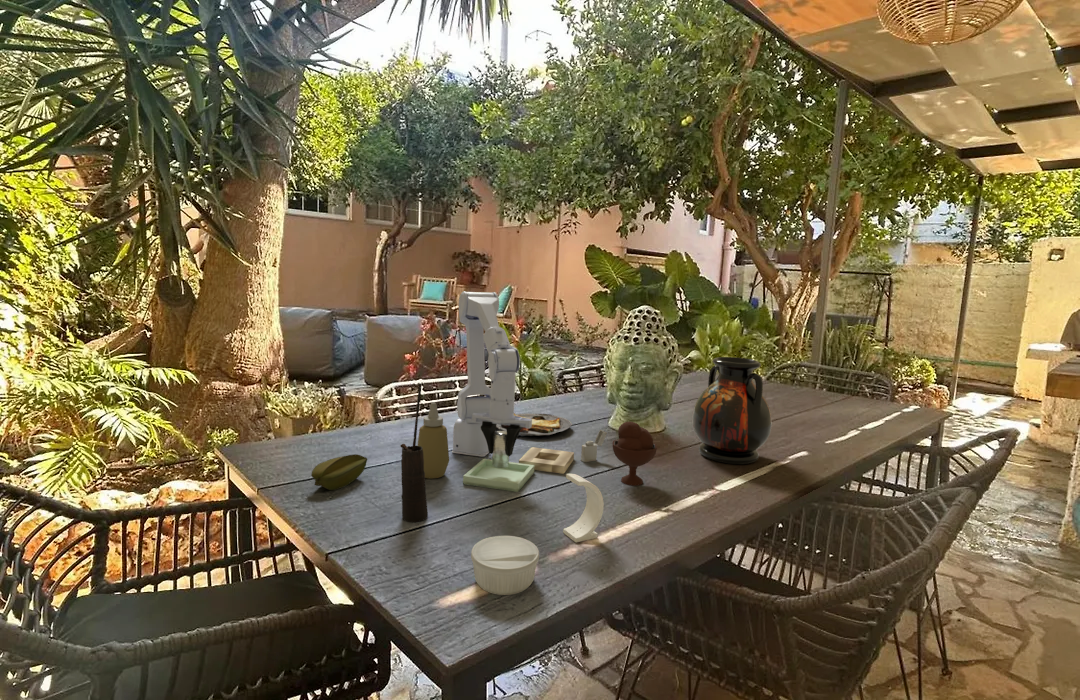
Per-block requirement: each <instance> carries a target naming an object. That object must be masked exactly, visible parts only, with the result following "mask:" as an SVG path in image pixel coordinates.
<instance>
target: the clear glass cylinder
mask: <svg viewBox="0 0 1080 700" xmlns="http://www.w3.org/2000/svg"><path fill="white" fill-rule="evenodd" d="M507 444H508V441H507V431H502V430H496V432H493V453H492V457H491V458H492V459H491V460H492V466H493V467H496V468H505V467H508V466H509V462H510V456H507Z"/></svg>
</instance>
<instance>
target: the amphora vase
mask: <svg viewBox="0 0 1080 700" xmlns="http://www.w3.org/2000/svg"><path fill="white" fill-rule="evenodd" d="M712 363H713V364H714V366H712V367H711V369H710V371H709V375H708V383H707V385H708V386H707V387H706V389H704V391H702V392H701V394H700V395H699V396H698V398H697V399H696V402H695V405H694V408H693V411H692V415H691V416H692V417H691V419H692V420H691V425H692V428H693V432H694V433H695V436H696V437H697V438H698V440H699V441H700V442H701V443H700V445H699V446H698V451H699V453H700V454H701V455H702V456H703V457H705V458H707V459H709V460H712V461H715V462H719V463H721V464H722V463H723V464H728V465H729V464H730V465H748V464H752V463H754V462H756V461H757V460H759V458H760V457H759V456H760V454H759V452H758V449H760V448H761V447H762V446H764V445H765V443H767V441H768V439H769V438H770V435H771V432H772V425H773V422H772V412H771V409H770V406H769V403H768V401H767V399H766V398H765V396H764V395H763V393H764V392H763V391H764V385H763V384H764V382H763V379H762V377H761V375H759V374H758V373H755V372H754V370H755V369H759V368H760V367H761V365H762V364H761V362H759V361H758V360H754V359H752V358H751V359H750V358H745V357H743V358H742V357H736V356H735V357H734V356H719V357H715V358H713V359H712ZM717 372H718V377H717V378H716V375H717ZM753 372H754V373H753ZM754 382H755V383H754Z"/></svg>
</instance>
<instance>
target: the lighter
mask: <svg viewBox="0 0 1080 700" xmlns="http://www.w3.org/2000/svg"><path fill="white" fill-rule="evenodd" d="M607 434H608V433H607V431H604V430H603V429H599V431H598V433H597V435H596V438H595V440H594V441H593V440H589V441H588V440H587V441H586V442H585V443H584V444H582V445H581V455H580V461H581V462H582V463H583V462H584V463H587V462H588V463H589V462H595V461H597V457H598V455H597V454H598V447H602V445H603V443H604V442H605V439H606V437H607Z"/></svg>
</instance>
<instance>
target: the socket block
mask: <svg viewBox="0 0 1080 700" xmlns="http://www.w3.org/2000/svg"><path fill="white" fill-rule="evenodd" d="M574 460H575V452H574V451H573V452H572V451H566V450H558V449H549V448H541V447H532V446H531V447H530V448H529V449H528V450H527V451H526V452H525V453H524V454H523V456H521V458H520V459H519V460H518V463H521V464H529V465H534V471H540V472H547V473H555V474H556V473H557V474H561V475H562V474H563V475H565V473H566V471H568V469H569V468H570V466H571V464H572V463H573V461H574Z"/></svg>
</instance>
